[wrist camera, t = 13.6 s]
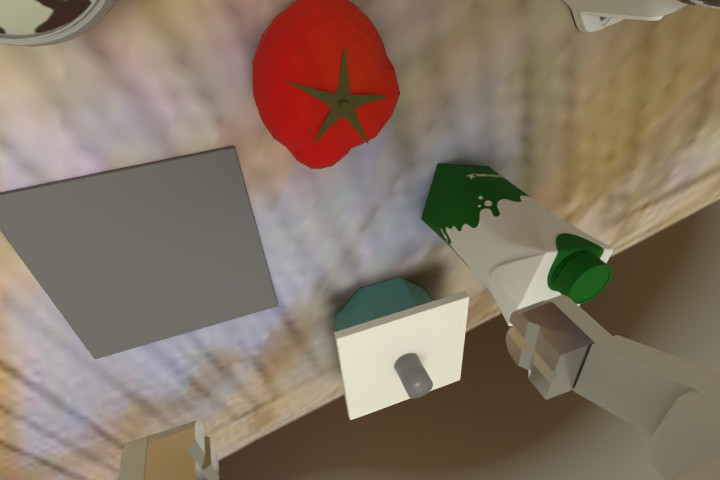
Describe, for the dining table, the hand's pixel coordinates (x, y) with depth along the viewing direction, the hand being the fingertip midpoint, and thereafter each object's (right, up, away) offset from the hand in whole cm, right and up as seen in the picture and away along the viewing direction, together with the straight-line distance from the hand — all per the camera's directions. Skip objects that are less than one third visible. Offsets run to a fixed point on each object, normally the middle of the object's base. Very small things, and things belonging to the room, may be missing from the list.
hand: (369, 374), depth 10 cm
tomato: (-5, +18, +26) cm, 32 cm away
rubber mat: (-20, +1, +31) cm, 37 cm away
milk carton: (+11, +9, +39) cm, 41 cm away
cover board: (+5, -11, +41) cm, 43 cm away
